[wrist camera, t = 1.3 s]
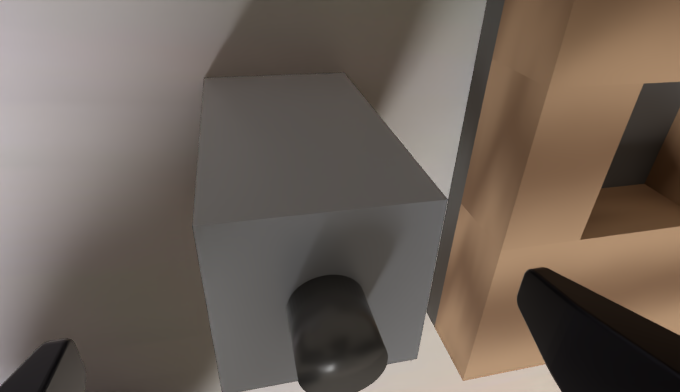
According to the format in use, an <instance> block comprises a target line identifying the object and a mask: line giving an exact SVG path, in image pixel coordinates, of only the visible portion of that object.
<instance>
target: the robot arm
mask: <svg viewBox="0 0 680 392" xmlns="http://www.w3.org/2000/svg"><path fill="white" fill-rule="evenodd" d="M517 305H518V308H519V310H520V312H521V314H522V316H523V318H524V320H525V322H526V325H527V327H528V329H529V331H530V333H531V335H532V337H533V339H534V341H535V343H536V345H537V347H538V349H539V351H540V354H541V356H542V358H543V360H544V362H545V364H546V366H547V367H548V369H549V371H550V373H551V375H552V376H553V378H554V380H555V382H556V383H557V385H558V386H559V388H560V390H561V391H562V392H680V335H678V334H676V333H674V332H672V331H670V330H668V329H666V328H664V327H662V326H661V325H659V324H657V323H655V322H653V321H651V320H649V319H647V318H645V317H643V316H641V315H639V314H637V313H635V312H633V311H631V310H629V309H627V308H625V307H623V306H621V305H619V304H617V303H615V302H613V301H611V300H609V299H608V298H606V297H604V296H602V295H600V294H598V293H596V292H594V291H592V290H590V289H588V288H586V287H584V286H582V285H580V284H578V283H576V282H574V281H572V280H570V279H568V278H566V277H564V276H562V275H560V274H558V273H556V272H554V271H553V270H551V269H549V268H546V267H539V268H533V269H528V270H527V271H526V272H525V273H524V276H523V279H522V282H521V285H520V288H519V291H518V294H517ZM85 385H86V370H85V366H84V364H83V361H82V359H81V357H80V354H79V352H78V350H77V347H76V345H75V343H74V341H73V340H72V339H68V338H66V339H59V340H52V341H47V342H45V343H43V344H42V345H41V346H39V347H38V348H37V349H36V350H35V351H34V352H33V353H32V354H31V355H30V356H29V357H28V359H27V360H26V361H25V362H24V363H23V364H22V365H21V366H20V367H19V368H18V369H17V370H16V371H15V372H14V373H13V374H12V375H11V376H10V377H9V378H8V379H7V380H6V381H5V382H4V383H3V384H2V385H1V386H0V392H85Z"/></svg>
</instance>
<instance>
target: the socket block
mask: <svg viewBox="0 0 680 392" xmlns="http://www.w3.org/2000/svg"><path fill="white" fill-rule="evenodd" d="M539 267H546V268H549V269H551V270H553V271H554V272H556V273H558V274H560V275H562V276H564V277H566V278H568V279H570V280H572V281H574V282H576V283H578V284H580V285H582V286H584V287H586V288H588V289H590V290H592V291H594V292H596V293H598V294H600V295H602V296H604V297H606V298H608V299H609V300H611V301H613V302H615V303H617V304H619V305H621V306H623V307H625V308H627V309H629V310H631V311H633V312H635V313H637V314H639V315H641V316H643V317H645V318H647V319H649V320H651V321H653V322H655V323H657V324H659V325H661V326H662V327H664V328H666V329H668V330H670V331H672V332H674V333H676V334H678V335H680V0H487V5H486V10H485V15H484V20H483V25H482V30H481V35H480V41H479V46H478V51H477V56H476V61H475V66H474V71H473V76H472V82H471V87H470V92H469V97H468V102H467V107H466V112H465V117H464V122H463V128H462V133H461V138H460V143H459V148H458V153H457V158H456V163H455V169H454V174H453V179H452V184H451V189H450V194H449V199H448V204H447V209H446V215H445V220H444V225H443V230H442V235H441V240H440V245H439V250H438V256H437V261H436V266H435V271H434V276H433V281H432V286H431V291H430V296H429V302H428V307H427V314H428V316H429V317H430V319H431V321H432V323H433V325H434V327H435V329H436V331H437V333H438V334H439V336H440V338H441V340H442V342H443V344H444V346H445V348H446V350H447V351H448V353H449V355H450V357H451V359H452V361H453V363H454V365H455V366H456V368H457V370H458V372H459V374H460V376H461V378H462V380H463V381H465V380H469V379H474V378H479V377H484V376H489V375H494V374H499V373H504V372H509V371H514V370H519V369H524V368H529V367H534V366H539V365H544V364H545V362H544V360H543V358H542V356H541V354H540V351H539V349H538V347H537V345H536V343H535V341H534V339H533V337H532V335H531V333H530V331H529V329H528V327H527V325H526V322H525V320H524V318H523V316H522V314H521V312H520V310H519V308H518V305H517V294H518V291H519V288H520V285H521V282H522V279H523V276H524V273H525V272H526V271H527V270H528V269H533V268H539Z"/></svg>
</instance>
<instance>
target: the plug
mask: <svg viewBox="0 0 680 392" xmlns="http://www.w3.org/2000/svg"><path fill="white" fill-rule="evenodd" d="M447 200H448V199H447V198H446V197H445V196H444V194H443V193H442V192H441V191H440V189H439V188H438V187H437V186H436V185H435V183H434V182H433V181H432V180H431V178H430V177H429V176H428V175H427V174H426V172H425V171H424V170H423V169H422V167H421V166H420V165H419V164H418V163H417V161H416V160H415V159H414V158H413V156H412V155H411V154H410V153H409V152H408V150H407V149H406V148H405V147H404V145H403V144H402V143H401V142H400V141H399V139H398V138H397V137H396V136H395V134H394V133H393V132H392V131H391V129H390V128H389V127H388V126H387V125H386V123H385V122H384V121H383V120H382V118H381V117H380V116H379V115H378V114H377V112H376V111H375V110H374V109H373V107H372V106H371V105H370V104H369V103H368V101H367V100H366V99H365V98H364V96H363V95H362V94H361V93H360V92H359V90H358V89H357V88H356V87H355V85H354V84H353V83H352V82H351V81H350V79H349V78H348V77H347V76H346V74H345V73H322V74H295V75H268V76H240V77H213V78H204V83H203V96H202V109H201V122H200V135H199V147H198V160H197V173H196V186H195V199H194V211H193V224H192V227H193V233H194V238H195V244H196V250H197V255H198V261H199V266H200V272H201V278H202V283H203V289H204V294H205V300H206V306H207V311H208V317H209V322H210V328H211V334H212V339H213V345H214V350H215V356H216V362H217V367H218V373H219V378H220V384H221V390H222V392H241V391H246V390H252V389H257V388H263V387H268V386H273V385H279V384H284V383H289V382H295V381H298V382H299V384H300V386H301V387H302V388H303V390H305V391H306V392H358V391H360V390H362V389H364V388H366V387H367V386H369V385H370V384H372V383H373V382H374V381H375V380H377V379H378V377H379V376H380V375H381V374H382V373H383V371H384V370H385V368H386V365H387V364H392V363H397V362H402V361H408V360H413V359H417V356H418V351H419V345H420V340H421V335H422V330H423V325H424V320H425V314H426V309H427V304H428V299H429V294H430V288H431V283H432V278H433V273H434V268H435V263H436V257H437V252H438V247H439V242H440V237H441V231H442V226H443V221H444V216H445V211H446V206H447Z"/></svg>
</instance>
